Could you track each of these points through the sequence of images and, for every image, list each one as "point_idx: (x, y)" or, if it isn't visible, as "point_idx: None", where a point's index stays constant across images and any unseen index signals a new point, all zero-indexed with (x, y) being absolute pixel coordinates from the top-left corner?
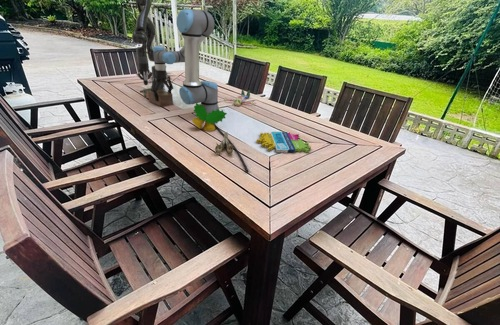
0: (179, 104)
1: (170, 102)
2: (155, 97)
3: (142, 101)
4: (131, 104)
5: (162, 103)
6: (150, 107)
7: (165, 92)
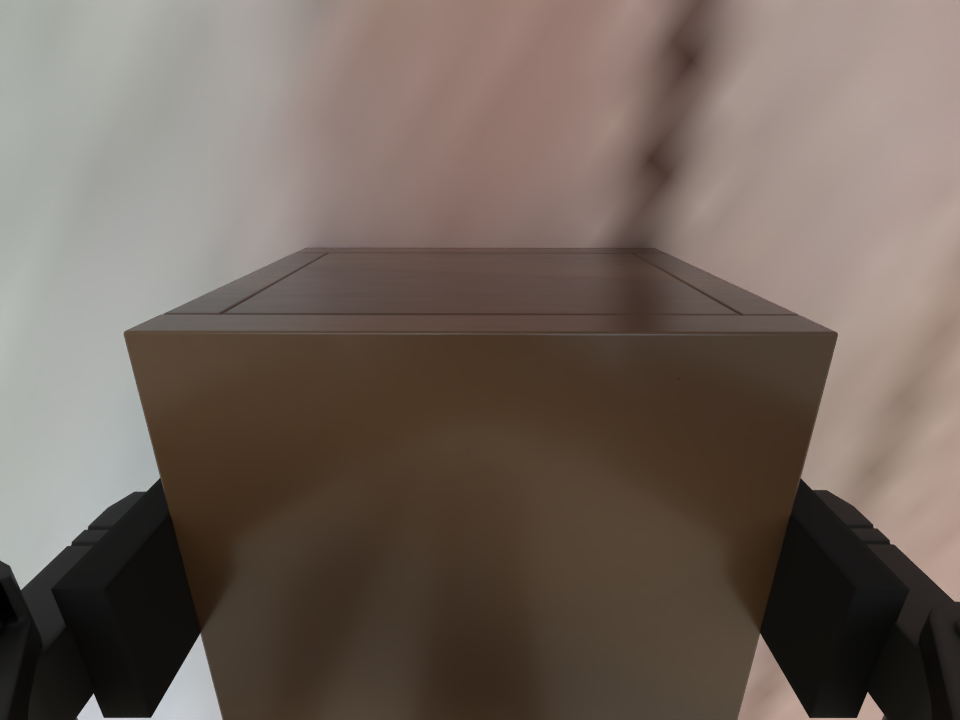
0: (156, 130)
1: (363, 259)
2: None
3: None
4: None
5: (633, 261)
6: (842, 361)
7: (322, 611)
